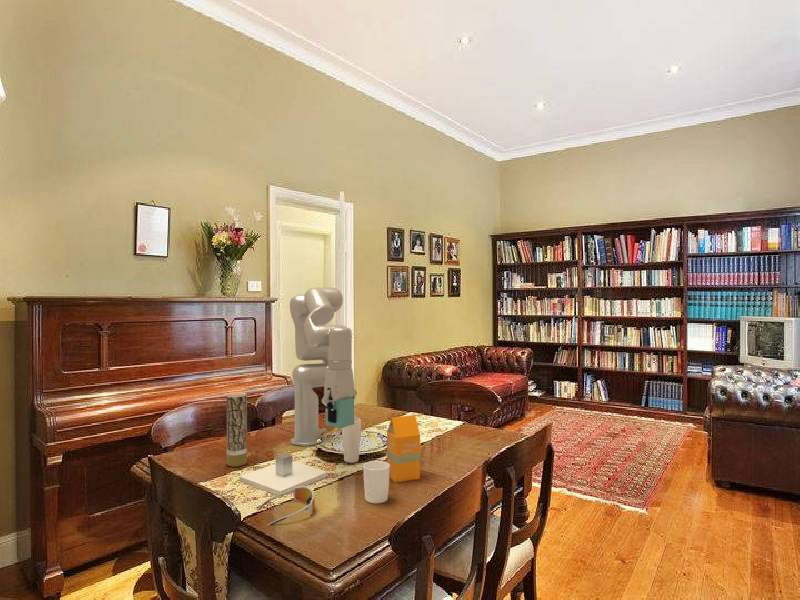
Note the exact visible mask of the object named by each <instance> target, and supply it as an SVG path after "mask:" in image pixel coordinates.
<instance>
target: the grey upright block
mask: <svg viewBox="0 0 800 600" xmlns="http://www.w3.org/2000/svg"><path fill="white" fill-rule="evenodd" d="M292 461H293V455H292V454H290V453H286V452H285V453H282V454H278V455H275V464H276V475H278V476H281V477H285V476H288V475H290V474H292Z"/></svg>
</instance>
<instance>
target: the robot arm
mask: <svg viewBox="0 0 800 600" xmlns="http://www.w3.org/2000/svg"><path fill="white" fill-rule="evenodd" d="M343 303H344V299H343V294H342V292H341V290H339V288H338V287H337V288H336V287H311V288H309V289H307V290H306V291H305V293H304V294H298V295H297V294H296V295H294V296H293V297H292V298H290V301H289V311H290V317H291V319H292V321H293V324H294V331H295V332H294V341H295V342H294V343H295V348H294V349H295V356H296V358H297V360H299V361H303V362H304V361H307V362H309V361H322V362H321V363H319V362H318V363H304V364H303V363H302V364H299V365H296V366H295V367H294V368H293V370H292V375H291V376H292V377H291V378H292V382H293V391H294V392H293V393H294V436H293V437H292V438H291V439H290V444H291V445H295V446H298V447H299V446H300V447H303V446H304V447H308V446H309V447H310V446H315V445H318V444H317V440H318V439H320V438H321V437H322V434H324V433H327V428H326V427H322V428H319V395H317V393H316V392H315V391H314V390H313V388H320V387H323V388H324V389H323V397H322V399H321V404H323V405H324V407H325V410H326V409H327V410H328V422H332V423H336V410H335V408H336V402H337V401H339V400H343V399H347V398H351V397H352V398H354V400H355V399H356V396H357V395H358V392H357V390H356V388H355V381H354V380H355V379H354V372H353V368H352V366H353V365H352V363H353V358H352V356H353V355H352V354H353V352H352V345H353V343H352V342H353V340H352V339H353V338H352V337H353V334H352V333H353V332H352V329H351V328H350V327H347V326H345V325H343V324H330V325H329V323H330V322H331V321H332V320H333V318H334V316H335V313H336V312H338V311H339V310H340V309H341V308H342V306H343ZM328 399H329V401H328ZM332 399H333V400H332ZM331 402H333V405H331Z"/></svg>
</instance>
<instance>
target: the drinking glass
mask: <svg viewBox="0 0 800 600" xmlns="http://www.w3.org/2000/svg"><path fill="white" fill-rule="evenodd" d="M361 422H362V421H361V418H360V417H356V416H354V424H353V425H350V426H347V427H344V428H341V436H342V448H343V461H344V462H345V463H350V464H353V463H357V462H358V461H359V459H360V447H361V446H360V444H361V435H362V433H361V432H362V423H361Z"/></svg>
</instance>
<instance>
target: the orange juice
mask: <svg viewBox="0 0 800 600" xmlns="http://www.w3.org/2000/svg"><path fill="white" fill-rule="evenodd" d="M386 462H387V463H389V464H390V473H389V479H391V480H392V481H393V482H394V483H401V482H407V481H408V482H409V481H414V480H420V479H421V433H420V429H419V425H418V422H417V417H416V415H415V414H414V415H406V416H396V417H395V416H394V417H391V419H390V422H389V426H388V428H387V431H386Z"/></svg>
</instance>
